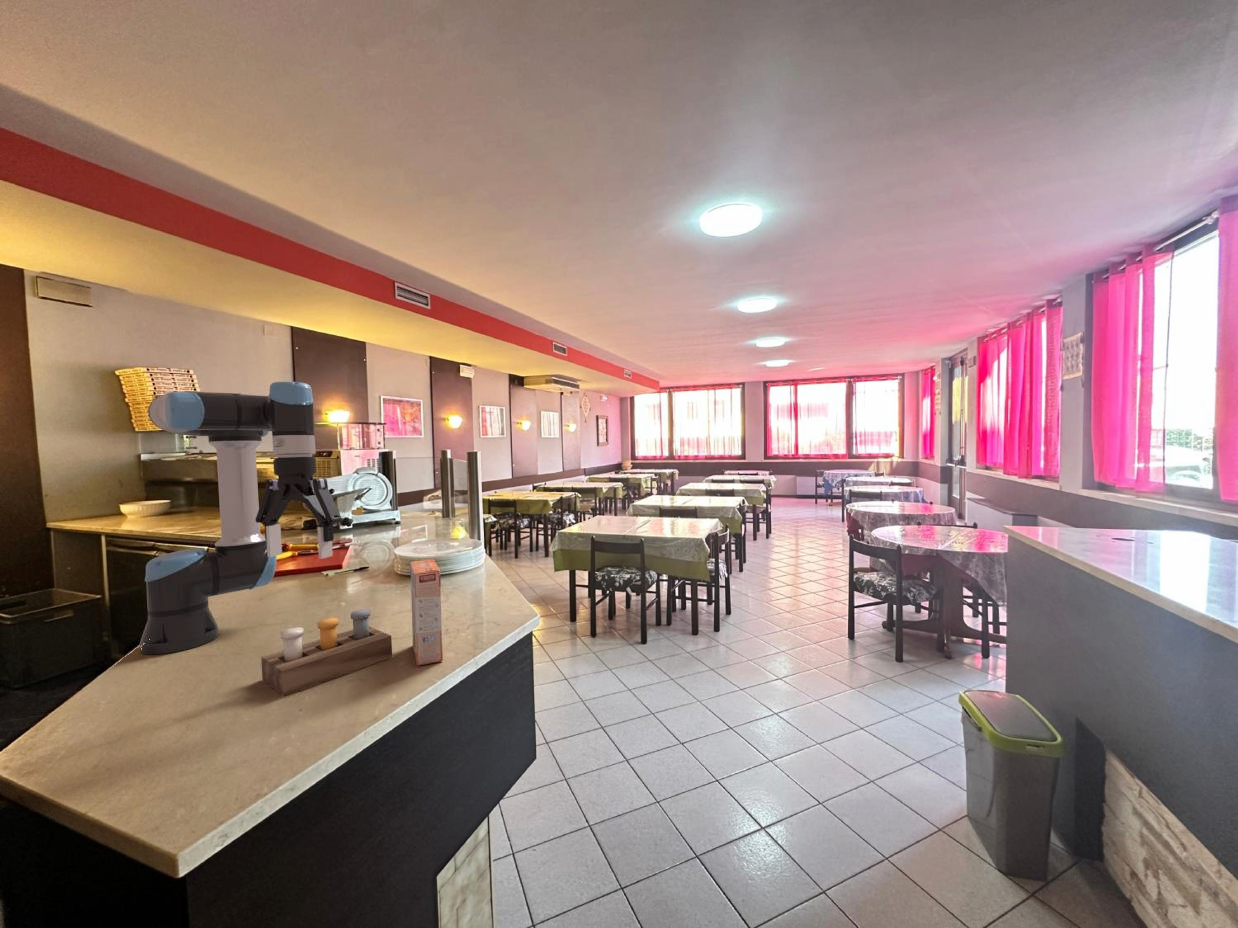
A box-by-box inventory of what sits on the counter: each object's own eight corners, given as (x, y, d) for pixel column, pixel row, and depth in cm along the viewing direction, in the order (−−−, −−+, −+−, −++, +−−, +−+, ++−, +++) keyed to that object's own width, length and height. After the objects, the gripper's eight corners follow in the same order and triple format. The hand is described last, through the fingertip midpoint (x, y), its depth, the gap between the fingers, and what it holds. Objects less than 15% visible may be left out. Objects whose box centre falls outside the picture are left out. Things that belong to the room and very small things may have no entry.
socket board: (262, 679, 105) (261, 656, 105) (367, 645, 123) (366, 625, 123) (283, 695, 98) (282, 670, 98) (392, 656, 115) (391, 635, 115)
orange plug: (315, 653, 110) (314, 621, 110) (335, 647, 113) (333, 616, 113) (323, 657, 107) (322, 625, 107) (343, 651, 111) (341, 620, 110)
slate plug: (348, 642, 115) (347, 613, 115) (366, 637, 119) (365, 608, 118) (356, 646, 113) (355, 616, 113) (374, 641, 116) (373, 611, 116)
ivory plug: (279, 664, 104) (277, 631, 104) (300, 658, 108) (299, 626, 107) (286, 669, 102) (284, 635, 102) (308, 662, 105) (306, 629, 105)
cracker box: (444, 661, 112) (441, 569, 111) (415, 667, 109) (412, 573, 109) (438, 640, 125) (435, 557, 124) (412, 645, 122) (408, 560, 121)
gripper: (231, 458, 104) (237, 558, 105) (327, 455, 98) (333, 562, 99) (265, 457, 112) (270, 551, 112) (357, 454, 105) (362, 554, 106)
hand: (299, 556), depth 105 cm, fingers open, 13 cm apart
